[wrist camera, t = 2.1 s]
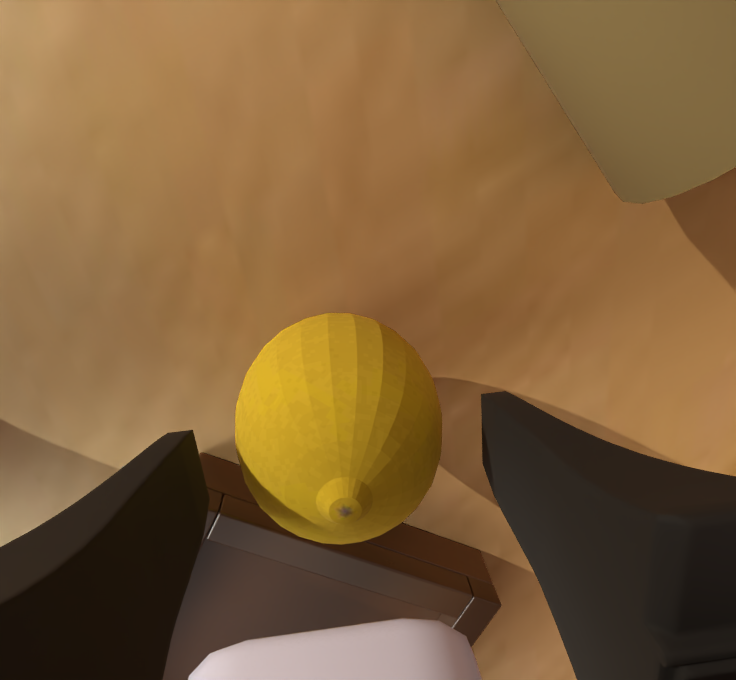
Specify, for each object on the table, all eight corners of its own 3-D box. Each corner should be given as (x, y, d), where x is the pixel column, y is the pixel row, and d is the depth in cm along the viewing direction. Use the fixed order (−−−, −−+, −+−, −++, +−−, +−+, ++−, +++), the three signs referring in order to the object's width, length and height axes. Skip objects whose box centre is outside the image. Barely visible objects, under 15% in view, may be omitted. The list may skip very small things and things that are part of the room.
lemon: (432, 300, 18) (512, 417, 10) (392, 440, 20) (437, 626, 12) (268, 267, 17) (225, 367, 9) (243, 417, 19) (191, 601, 11)
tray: (100, 673, 22) (71, 743, 20) (200, 450, 19) (181, 500, 16) (353, 735, 25) (357, 804, 23) (480, 550, 22) (502, 605, 19)
